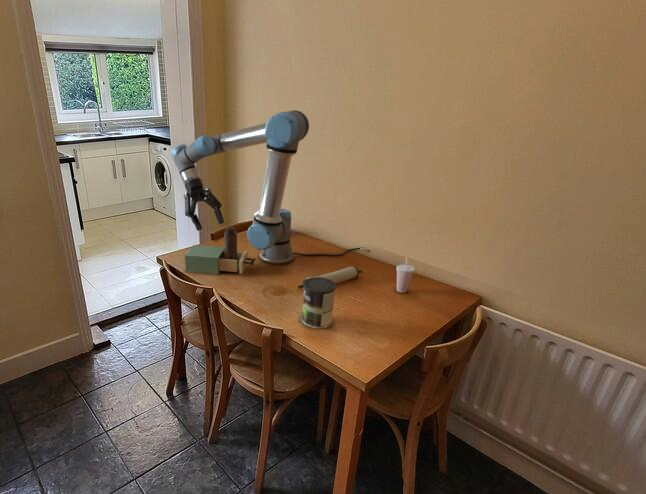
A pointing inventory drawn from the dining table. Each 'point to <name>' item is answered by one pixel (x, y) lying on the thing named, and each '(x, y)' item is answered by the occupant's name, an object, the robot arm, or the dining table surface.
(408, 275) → the smoothie
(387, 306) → the dining table surface
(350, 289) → the dining table surface
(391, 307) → the dining table surface
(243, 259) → the drawer
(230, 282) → the dining table surface
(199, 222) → the robot arm
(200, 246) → the cabinet
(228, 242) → the pepper mill
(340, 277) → the rolling pin
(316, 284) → the coffee can
